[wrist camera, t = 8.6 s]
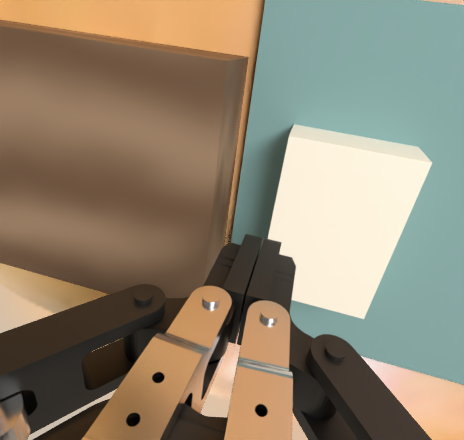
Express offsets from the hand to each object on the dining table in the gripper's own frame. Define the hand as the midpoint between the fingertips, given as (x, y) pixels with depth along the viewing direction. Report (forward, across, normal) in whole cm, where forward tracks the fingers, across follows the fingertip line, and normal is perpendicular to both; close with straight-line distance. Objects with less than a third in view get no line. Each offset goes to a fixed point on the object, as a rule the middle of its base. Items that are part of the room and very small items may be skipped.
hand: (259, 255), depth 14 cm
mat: (+6, -7, 0) cm, 9 cm away
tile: (+4, -3, 0) cm, 5 cm away
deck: (+6, +13, 0) cm, 14 cm away
